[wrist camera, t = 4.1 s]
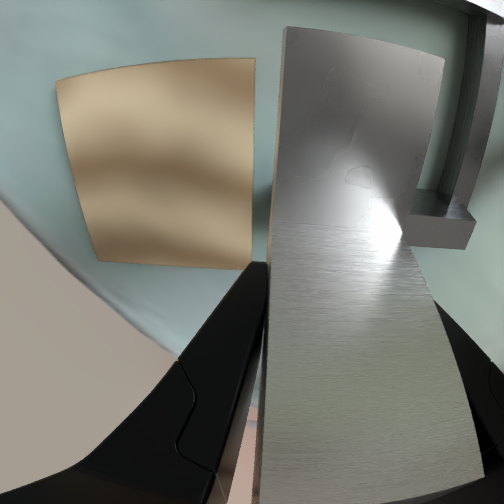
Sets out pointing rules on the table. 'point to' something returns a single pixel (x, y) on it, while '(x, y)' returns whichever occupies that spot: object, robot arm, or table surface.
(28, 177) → the table surface
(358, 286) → the brushed metal step block
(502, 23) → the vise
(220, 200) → the board
